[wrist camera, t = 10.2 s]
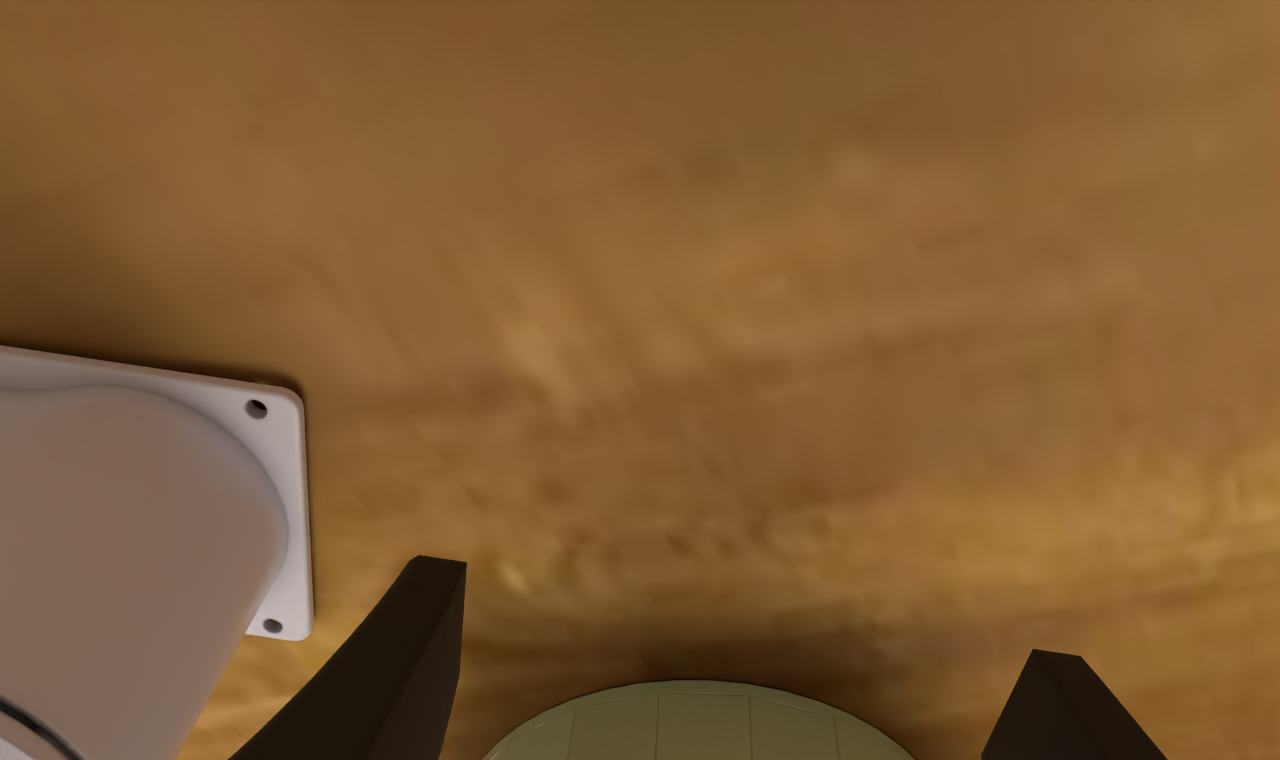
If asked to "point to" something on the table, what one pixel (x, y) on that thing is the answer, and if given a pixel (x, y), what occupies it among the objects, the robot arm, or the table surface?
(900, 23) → the table surface
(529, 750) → the pot
